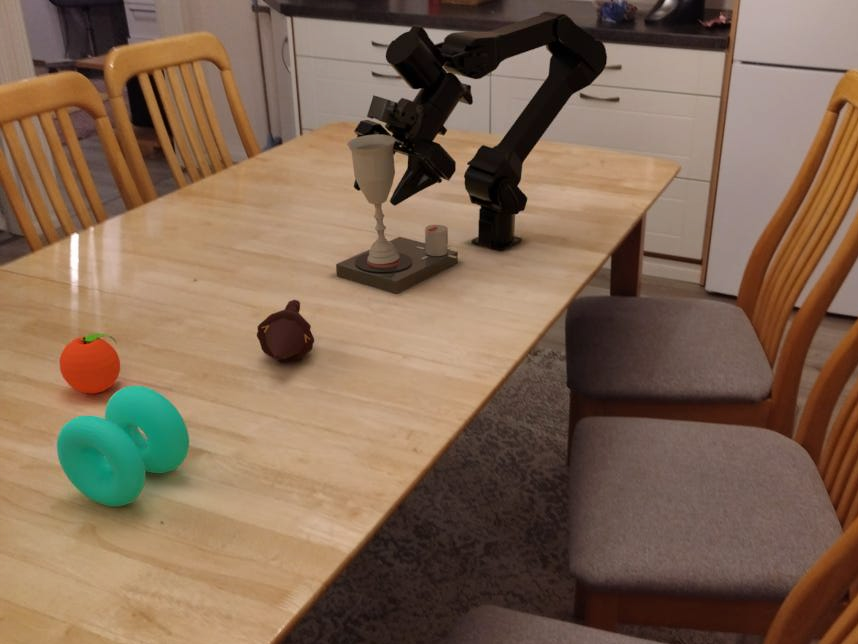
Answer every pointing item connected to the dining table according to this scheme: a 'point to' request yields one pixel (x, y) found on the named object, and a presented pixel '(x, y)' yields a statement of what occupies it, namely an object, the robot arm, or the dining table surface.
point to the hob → (404, 279)
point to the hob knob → (436, 240)
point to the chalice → (375, 185)
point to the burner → (391, 267)
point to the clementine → (90, 364)
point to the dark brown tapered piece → (286, 334)
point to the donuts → (123, 445)
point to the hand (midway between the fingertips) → (373, 196)
